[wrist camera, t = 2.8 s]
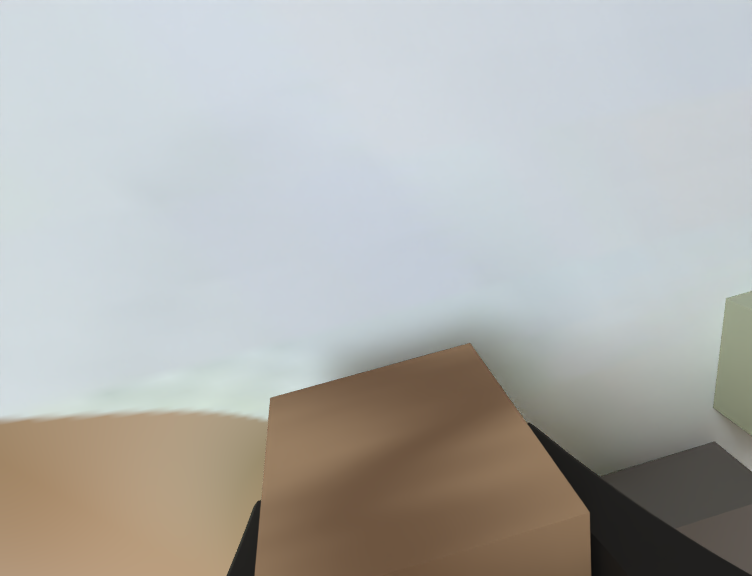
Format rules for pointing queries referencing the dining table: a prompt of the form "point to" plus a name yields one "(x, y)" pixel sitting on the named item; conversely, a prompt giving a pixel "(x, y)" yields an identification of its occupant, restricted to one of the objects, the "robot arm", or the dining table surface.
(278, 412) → the walnut cube
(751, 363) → the sage green cube
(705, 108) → the dining table surface
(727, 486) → the charcoal slab
